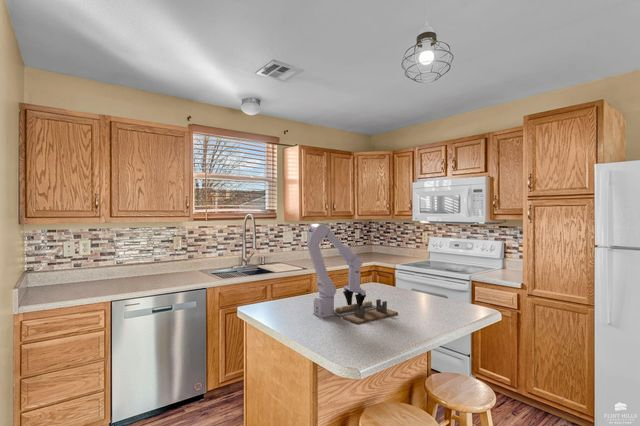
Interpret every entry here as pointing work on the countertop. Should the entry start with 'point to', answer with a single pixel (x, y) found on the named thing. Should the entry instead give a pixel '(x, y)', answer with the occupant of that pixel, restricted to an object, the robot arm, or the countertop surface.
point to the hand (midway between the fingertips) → (354, 306)
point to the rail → (351, 307)
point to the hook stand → (369, 313)
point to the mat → (353, 311)
